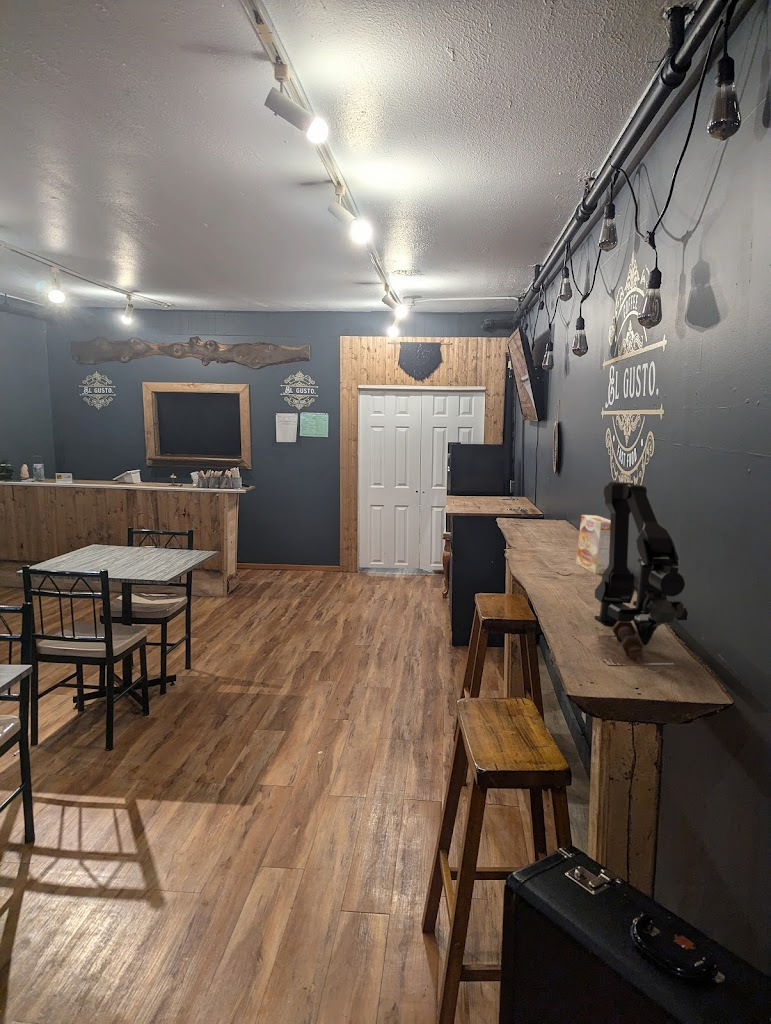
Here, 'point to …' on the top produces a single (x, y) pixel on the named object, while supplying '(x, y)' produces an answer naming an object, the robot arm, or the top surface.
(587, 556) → the coffeecake box
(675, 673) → the top surface
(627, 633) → the bolt
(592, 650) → the seat and pad
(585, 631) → the top surface
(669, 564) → the robot arm
